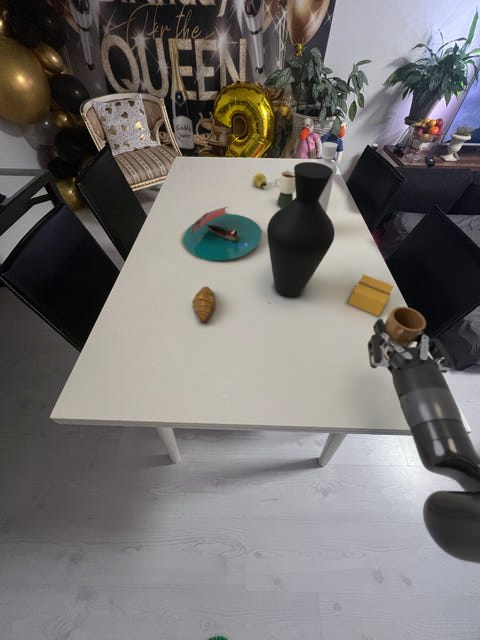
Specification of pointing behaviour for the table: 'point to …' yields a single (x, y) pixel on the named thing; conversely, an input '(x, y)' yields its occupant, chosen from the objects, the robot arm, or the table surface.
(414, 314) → the cup
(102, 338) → the table surface
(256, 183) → the fruit
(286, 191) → the character mug
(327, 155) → the bottle
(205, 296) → the croissant
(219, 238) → the boat on round base
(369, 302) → the box
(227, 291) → the table surface
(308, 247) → the vase
